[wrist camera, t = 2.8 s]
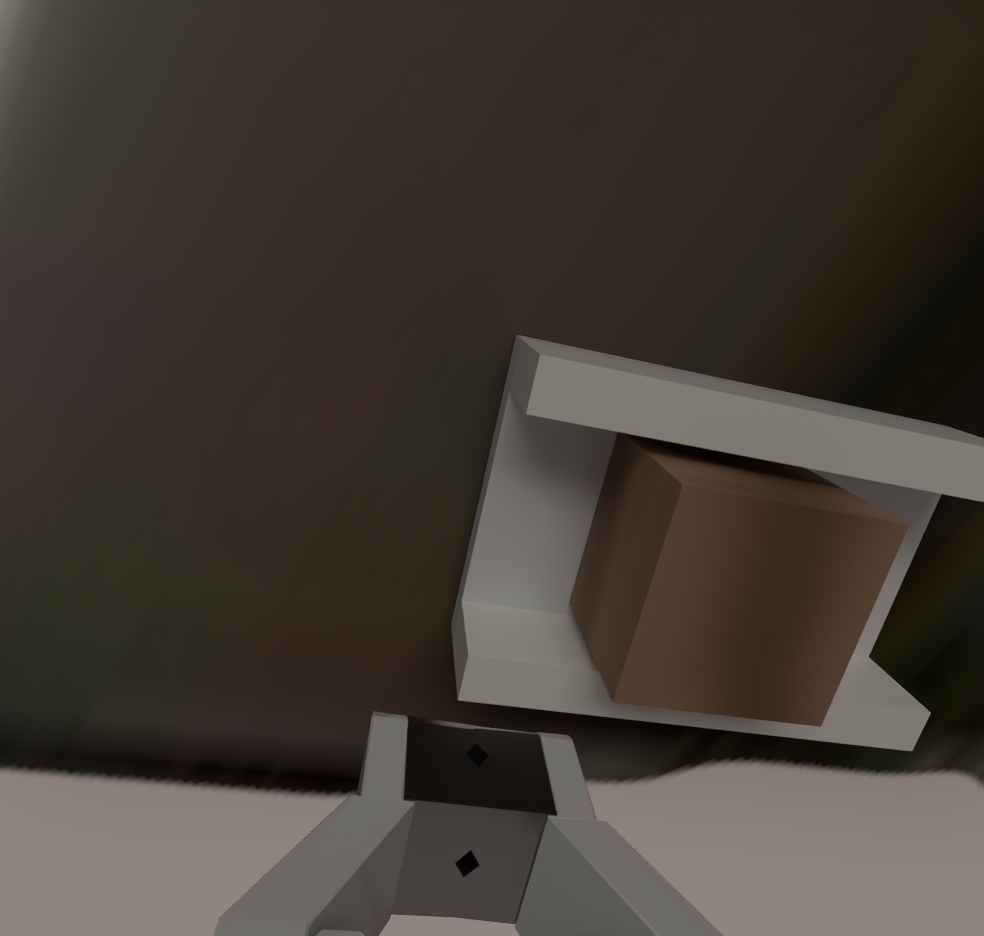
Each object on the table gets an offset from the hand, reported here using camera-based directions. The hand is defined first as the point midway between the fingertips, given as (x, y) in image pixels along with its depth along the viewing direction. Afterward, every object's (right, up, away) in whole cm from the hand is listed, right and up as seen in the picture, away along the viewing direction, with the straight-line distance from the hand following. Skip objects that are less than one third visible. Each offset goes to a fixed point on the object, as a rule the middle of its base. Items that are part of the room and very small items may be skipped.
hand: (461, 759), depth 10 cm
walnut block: (+7, +2, +11) cm, 13 cm away
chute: (+7, +2, +12) cm, 15 cm away
